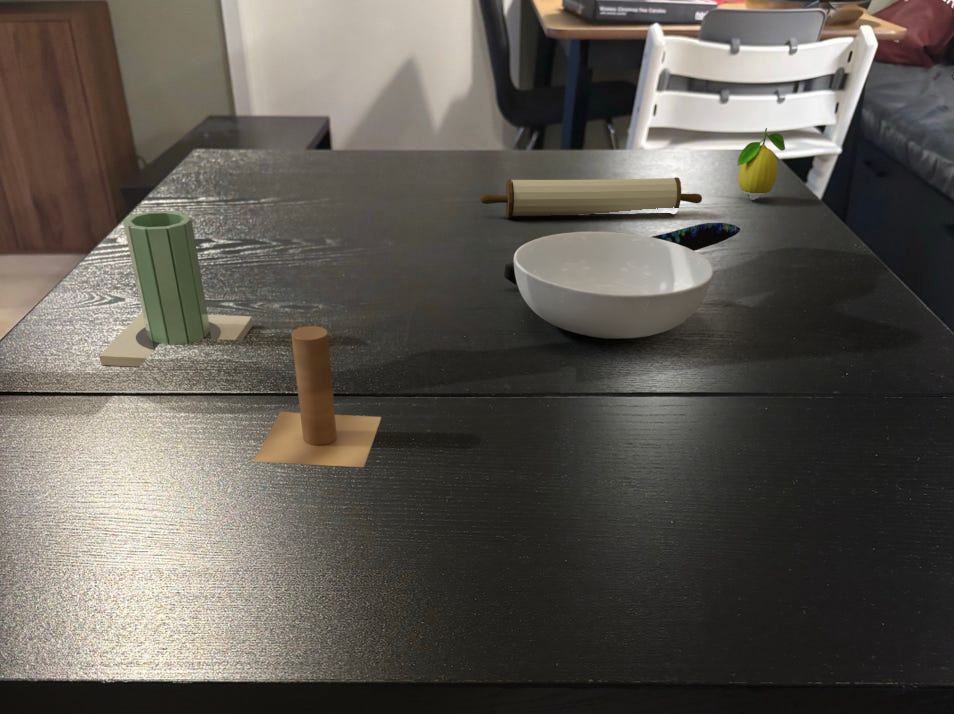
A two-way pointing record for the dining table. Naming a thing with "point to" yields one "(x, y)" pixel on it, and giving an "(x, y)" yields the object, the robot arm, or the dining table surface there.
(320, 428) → the peg stand
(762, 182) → the lemon
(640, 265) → the serving bowl
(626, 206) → the rolling pin
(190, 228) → the ceramic tube
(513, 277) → the knife
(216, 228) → the dining table surface
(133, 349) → the plate
